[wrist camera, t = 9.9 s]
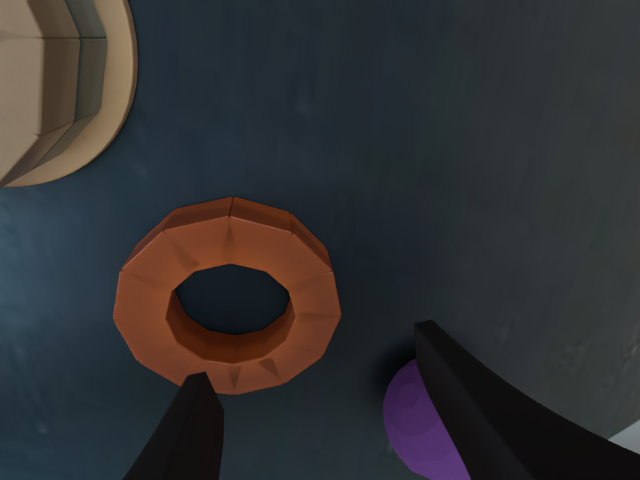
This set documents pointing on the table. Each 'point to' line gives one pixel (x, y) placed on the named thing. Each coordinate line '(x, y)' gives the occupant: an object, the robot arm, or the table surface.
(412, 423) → the purple maraca
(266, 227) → the top ring
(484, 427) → the robot arm
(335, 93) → the table surface
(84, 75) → the ring stand
